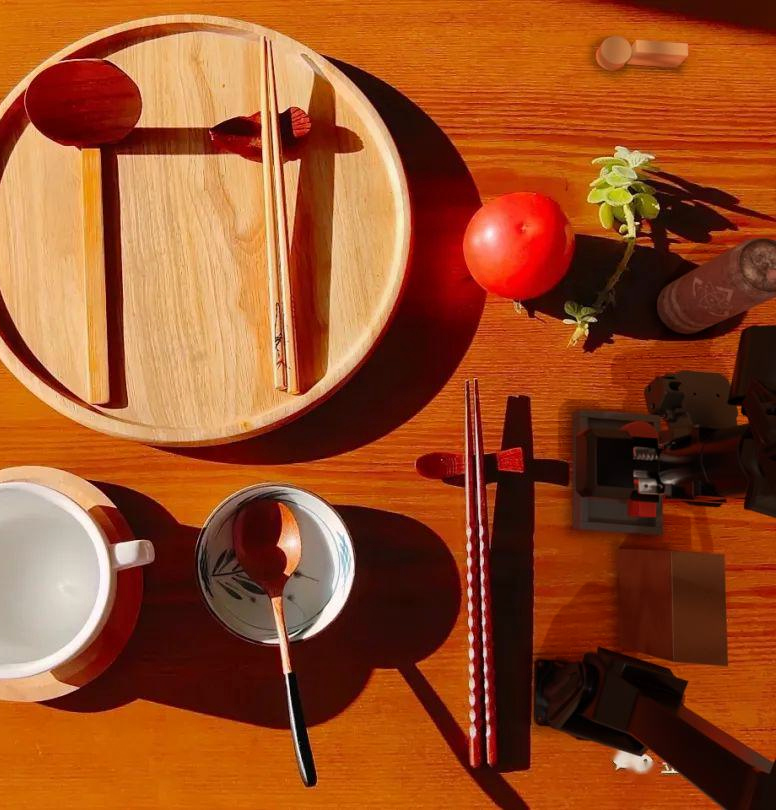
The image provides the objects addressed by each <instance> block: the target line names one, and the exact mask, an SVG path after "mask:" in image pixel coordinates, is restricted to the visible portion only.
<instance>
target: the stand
mask: <svg viewBox="0 0 776 810" xmlns="http://www.w3.org/2000/svg"><path fill="white" fill-rule="evenodd" d="M725 557H726V555H725V554H721V553H711V552H710V553H709V552H698V551H685V550H674V549H673V550H672V549H671V550H670V549H639V548H638V549H636V548H617V616H618V617H617V625H618V628H617V629H618V634H617V635H618V637H617V638H618V648H621V649H625V650H629V651H632V652H635V653H639V654H642V655H647V656H650V657H653V658H657V659H661V660H664V661H668V662H672V663H678V664H679V663H680V664H690V665H691V664H692V665H703V666H715V667H729V650H728V649H729V648H728V647H729V645H728V621H727V620H728V618H727V616H728V615H727V587H726V586H727V585H726V558H725Z"/></svg>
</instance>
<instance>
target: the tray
mask: <svg viewBox="0 0 776 810" xmlns="http://www.w3.org/2000/svg"><path fill="white" fill-rule="evenodd" d="M636 421H643V422H646V423H648V424H650V425H651V426H653V427H654V429H655V430H656V431H657V434H658V432H659V431H662V417H661V416H658V415H651V414H644V413H630V412H618V411H607V410H606V411H605V410H594V409H578V410H575V411H573V412H572V450H571V451H572V467H571V468H572V469H571V471H572V472H571V473H572V477H571V478H572V481H571V482H572V486H571V487H572V488H571V490H572V491H571V492H572V493H571V494H572V495H571V496H572V499H571V500H572V503H571V504H572V505H571V507H572V513H571V514H572V516H571V518H572V519H571V521H572V523H571V524H572V525H571V527H572V530H578V531H592V532H593V531H594V532H605V533H617V534H630V535H631V534H632V535H642V536H664V506H663V505H664V504H663V501H664V500H663V499H664V498H663V496H664V494H663V495H659V503H656V517H650V518H638V517H628V516H627V499H626V500H608V499H595V498H582V497H581V496H580V495H579V494H578V493H577V492H576V436H577V435H578V434H579V433H580V432H581V431H582V430H586V429H589V428H600V429H613V430H620V429H621V428H622V427H623V426H624V425H626V424H629V423H632V422H636ZM662 447H663V446H660V445H659V444H658V448H661V449H663V448H662Z"/></svg>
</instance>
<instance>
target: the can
mask: <svg viewBox="0 0 776 810" xmlns="http://www.w3.org/2000/svg"><path fill="white" fill-rule="evenodd" d="M775 298H776V239H774V238H769V237H755V238H754V237H753V238H747V239H745V240H743V241H741V242H739V243H737V244H736V245H734V246H732V247H731V248H729V249H727V250H725V251H724V252H721V253H720V254H718V255H717V256H715V257H712V259H709V260H708V261H706V262H704V263H702V264H701V265H699V266H698V267H696V268H694V269H692V270H690V271H689V272H687V273H686V274H683V275H682V276H680V277H678V278H676V279H675V280H674V281H672V282H670V283H668V284H667V285H665V286H664V287H663V288H662V289H661V290H660V292H659V294H658V297H657V300H656V311H657V315H658V317H659V319H660V320H661V323H663V324H664V325H665V326H666V327H667V328H668V329H670V330H672V331H673V332H676V333H679V334H684V335H689V334H695V333H698V332H700V331H702V330H705V329H708V328H710V327H713V326H714V325H717V324H719V323H722V322H723V321H726V320H727V319H730V318H732V317H734V316H736V315H737V316H738V315H739V314H741V313H744V312H746V311H748V310H751V309H752V308H755V307H757V306H759V305H762V304H763V303H766V302H769V301H770V300H773V299H775Z"/></svg>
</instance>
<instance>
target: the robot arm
mask: <svg viewBox="0 0 776 810" xmlns="http://www.w3.org/2000/svg"><path fill="white" fill-rule="evenodd" d="M643 390H644V391H643V396H644V401H645V403H646V404H645V405H646V410H647V412H648V415H658V416H661V420H662V421H663V422H664V423H665V425H666V426H667V429H662V430H661V431H659V432H658V438H659V445H660V446H662V447H663V448H662V449H661V448H658V438H648V437H635V436H632V437H631V435H630V433H629V432H628V431H626V430H613V429H600V428H589V429H586V430H582V431H581V432H580V433H579V434H578V435H577V436H576V492H577V493H578V494H579V495H580V496H581V497H582V498H595V499H608V500H626V499H629V500H632V501H639V502H652V503H659V495H663V496H664V499H665V500H672V501H679V502H683V503H684V504H687V505H689V506H693V507H704V508H705V507H706V508H720V507H722V506H723V504H726V503H728V501H727V500H732V501H743V510H745V511H750V512H753V513H757V514H760V515H764V516H766V517H770V518H773V519H776V324H769V325H757V324H752V325H749V326H747V327H745V328H743V329H742V331H741V332H740V337H739V341H738V346H737V352H736V356H735V362H734V366H733V372H732V377H731V382H730V381H729V379H728V378H727V377H726V376H725V375H723V374H721V373H718V372H708V371H695V370H679V371H677V372H676V373H673V372H666V373H665V374H664V375H662V376H661V375H657V376H655V377H654V379H652V380H651V381H650V382H649V383H648V385H646V386H645V387H644V389H643ZM739 406H740V414H741V415H743V416H744V417H746V418H747V421H748V422H746V423H741V424H738V417H739V409H738V407H739ZM596 649H597V651H592V650H589V651H586V652H584V653H583V658H582V657H575V656H563V655H556V656H555V657H554V659H552V658H536V659H535V660H534V664H533V722H534V723H535V725H537V726H539V727H547V728H551V729H552V730H555V731H558V732H561V733H565V734H566V735H568V736H570V737H572V738H573V739H575V740H577V741H584V742H585V741H586V742H593V743H596V744H599V745H602V746H604V747H608V748H612V749H615V750H618V751H620V752H621V751H622V752H625V753H627V754H631V755H634V756H637V757H640V758H641V757H643V756H644V755H645V754H646V753H647V752H649V751H650V752H651V753H653V755H655V756H656V757H657V758H659V759H660V760H661V761H662V762H664V763H665V764H666V765H667V766H669V767H670V768H671V769H673V770H674V771H675V772H676V773H678V774H679V775H680V776H681V777H683V778H684V779H685V780H686V781H687V782H689V783H690V784H691V785H692V786H694V787H695V788H696V789H697V790H698V791H700V792H701V793H702V794H703V795H705V796H706V797H707V798H708V799H709V800H711V801H712V802H713V803H714V804H716V805H717V806H718V807H720V808H721V809H722V810H776V758H775V759H774V761H771V760H770V759H768V758H767V757H765V756H764V755H762V754H761V753H759V752H757V751H756V750H754V749H753V748H751V747H750V746H748V745H747V744H745V743H743V742H742V741H741V740H738V739H737V738H736V737H734V736H732V735H731V734H730V733H728V732H726V731H724V730H723V729H721V728H720V727H718V726H716V724H714V723H712V722H710V721H709V720H708V719H705V718H704V717H703V716H701V715H699V714H697V713H696V712H695V711H694V710H692V709H690V708H688V707H687V706H685V702H686V694H685V691H686V689H687V687H688V684H689V682H690V681H689V680H688V679H683V678H681V677H677V676H676V675H675V674H674V673H673V672H672V670H671V668H669V667H667V666H663V665H660V664H656V663H654V662H650V661H646V660H644V659H640V658H638V657H634V656H631V655H628V654H625V653H622V652H618V651H615V650H612V649H608V648H605V647H602V646H597V648H596ZM539 663H541V664H540V665H539ZM539 719H540V721H539Z"/></svg>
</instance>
